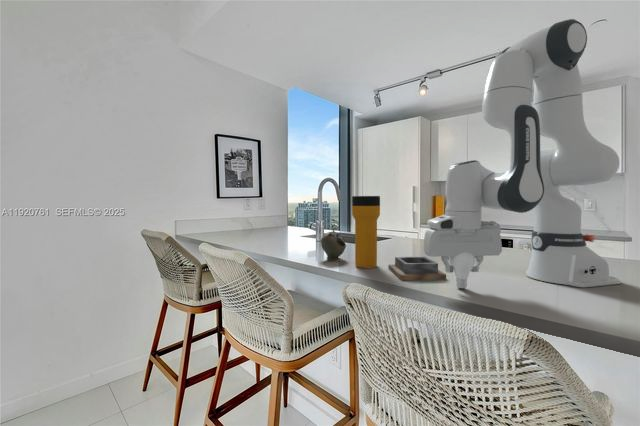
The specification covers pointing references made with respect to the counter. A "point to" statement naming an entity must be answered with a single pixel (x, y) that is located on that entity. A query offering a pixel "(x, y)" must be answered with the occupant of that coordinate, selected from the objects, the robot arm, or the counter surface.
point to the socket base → (416, 269)
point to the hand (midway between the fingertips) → (461, 271)
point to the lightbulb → (462, 267)
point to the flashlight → (366, 229)
